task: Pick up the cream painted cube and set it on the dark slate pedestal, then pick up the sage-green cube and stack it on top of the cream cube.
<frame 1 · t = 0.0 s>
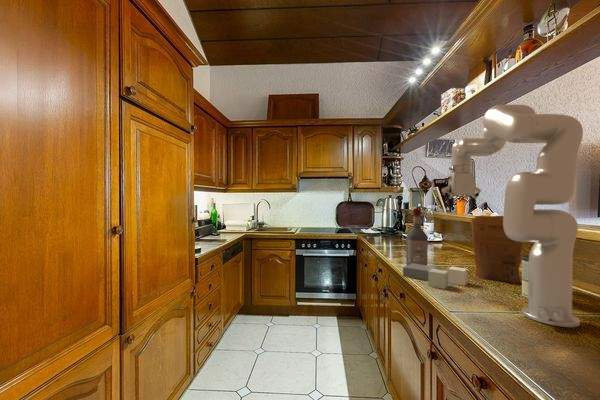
hand: (461, 207, 127), 31 cm above the counter, tool pointing down, fingers open, 9 cm apart
liquor: (416, 267, 144), on the counter
coffee can: (539, 298, 100), on the counter
pedestal: (421, 275, 128), on the counter
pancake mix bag: (496, 280, 122), on the counter
cream block: (457, 283, 117), on the counter
sage block: (438, 286, 113), on the counter
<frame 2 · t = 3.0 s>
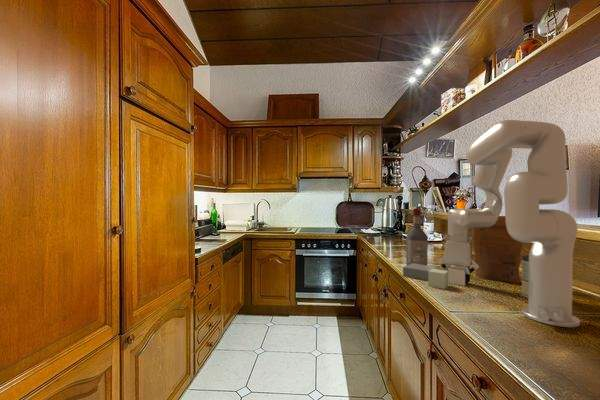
hand: (457, 281, 117), 1 cm above the counter, tool pointing down, fingers closed on cream block, 6 cm apart
cream block: (457, 282, 117), on the counter, touching gripper
everything else where it was.
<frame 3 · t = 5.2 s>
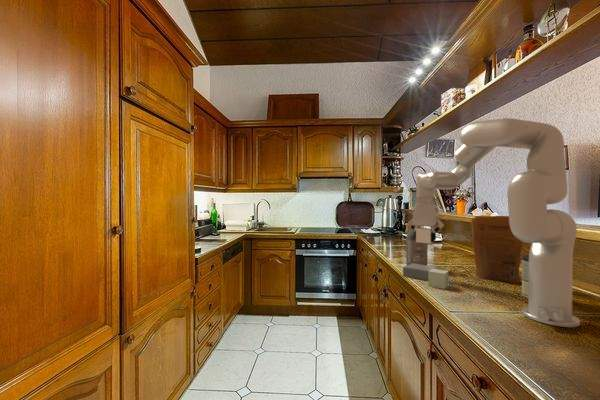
hand: (424, 240, 127), 16 cm above the counter, tool pointing down, fingers closed on cream block, 6 cm apart
cream block: (424, 242, 127), point 16 cm above the counter, touching gripper
everything else where it was.
when the fingers open (6 cm above the counter, at t = 7.6 s): cream block drops 1 cm, resting on pedestal.
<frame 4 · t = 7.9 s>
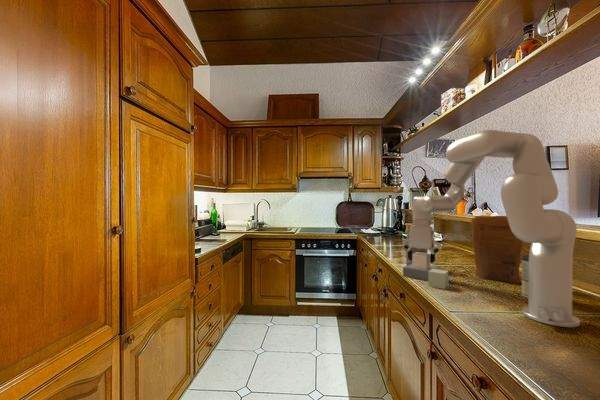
hand: (421, 261, 128), 7 cm above the counter, tool pointing down, fingers open, 9 cm apart
cream block: (421, 267, 128), point 4 cm above the counter, touching pedestal
everything else where it was.
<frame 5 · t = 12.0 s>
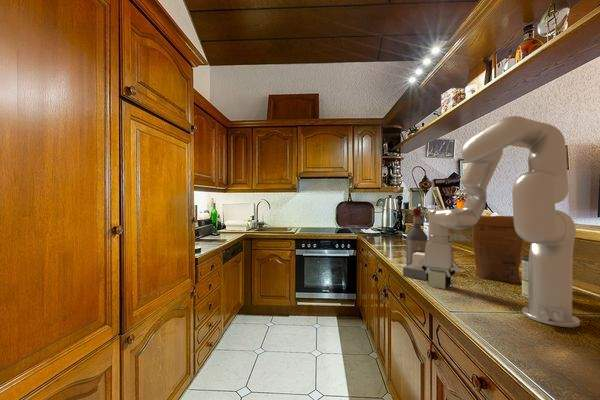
hand: (438, 284, 113), 1 cm above the counter, tool pointing down, fingers closed on sage block, 6 cm apart
sage block: (438, 285, 113), on the counter, touching gripper
everything else where it was.
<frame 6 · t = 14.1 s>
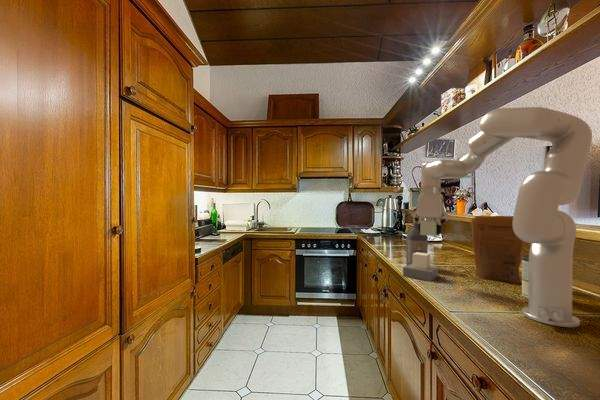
hand: (429, 233, 120), 20 cm above the counter, tool pointing down, fingers closed on sage block, 6 cm apart
sage block: (429, 234, 120), point 20 cm above the counter, touching gripper
everything else where it was.
when the fingers open (12 cm above the counter, at t = 16.4 s): sage block drops 1 cm, resting on cream block.
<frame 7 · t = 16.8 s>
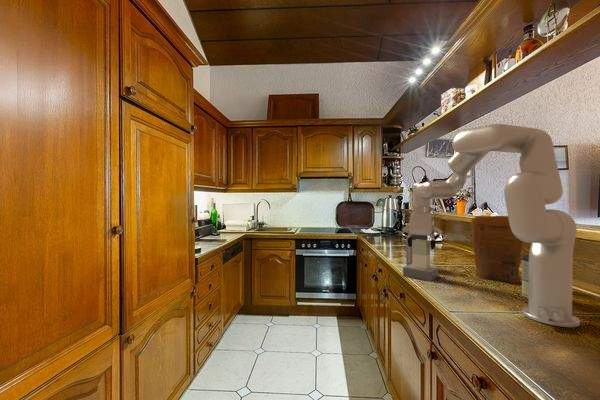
hand: (421, 247, 128), 13 cm above the counter, tool pointing down, fingers open, 9 cm apart
cream block: (421, 267, 128), point 4 cm above the counter, touching pedestal, sage block
sage block: (421, 253, 128), point 10 cm above the counter, touching cream block
everything else where it was.
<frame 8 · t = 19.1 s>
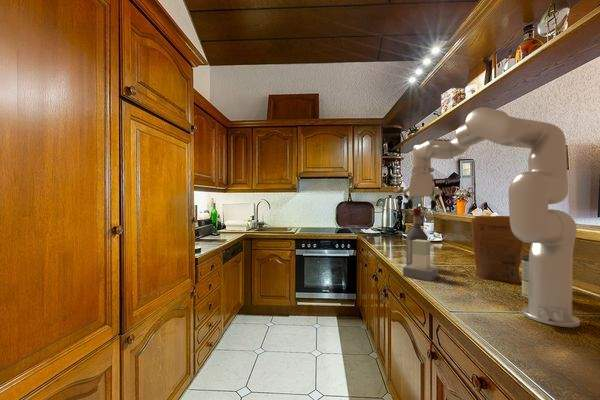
hand: (421, 209, 128), 30 cm above the counter, tool pointing down, fingers open, 9 cm apart
nothing on the counter moved.
at the end: cream block inside the target area on the pedestal (0.1 cm from its centre), point 4.0 cm above the pedestal's base; sage block inside the target area on the cream block (0.0 cm from its centre), point 6.0 cm above the cream block's base; sage block tilted 0° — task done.
